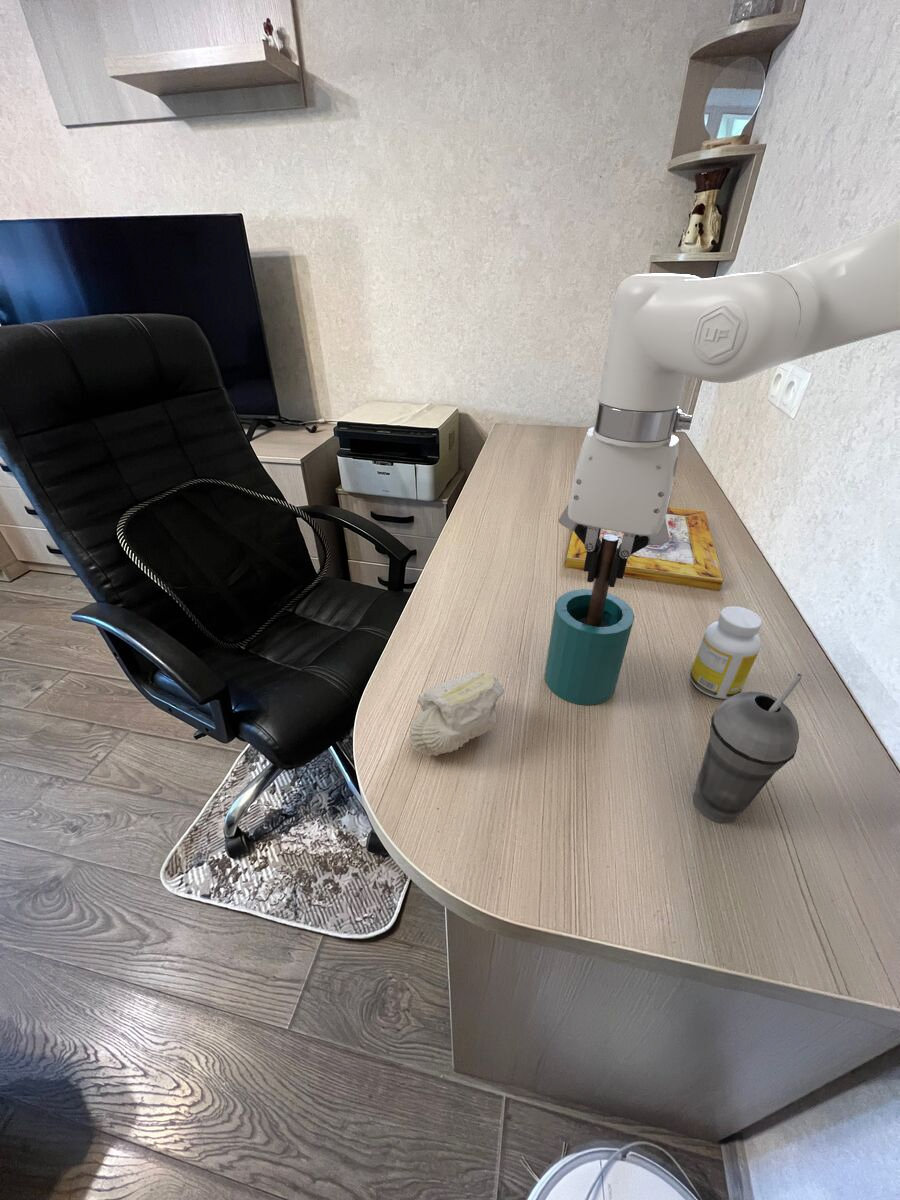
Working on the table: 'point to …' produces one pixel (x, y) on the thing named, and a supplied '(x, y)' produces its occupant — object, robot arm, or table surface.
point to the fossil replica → (455, 713)
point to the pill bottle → (727, 653)
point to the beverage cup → (744, 752)
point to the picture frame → (668, 553)
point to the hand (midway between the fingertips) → (602, 578)
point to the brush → (601, 582)
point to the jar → (587, 648)
